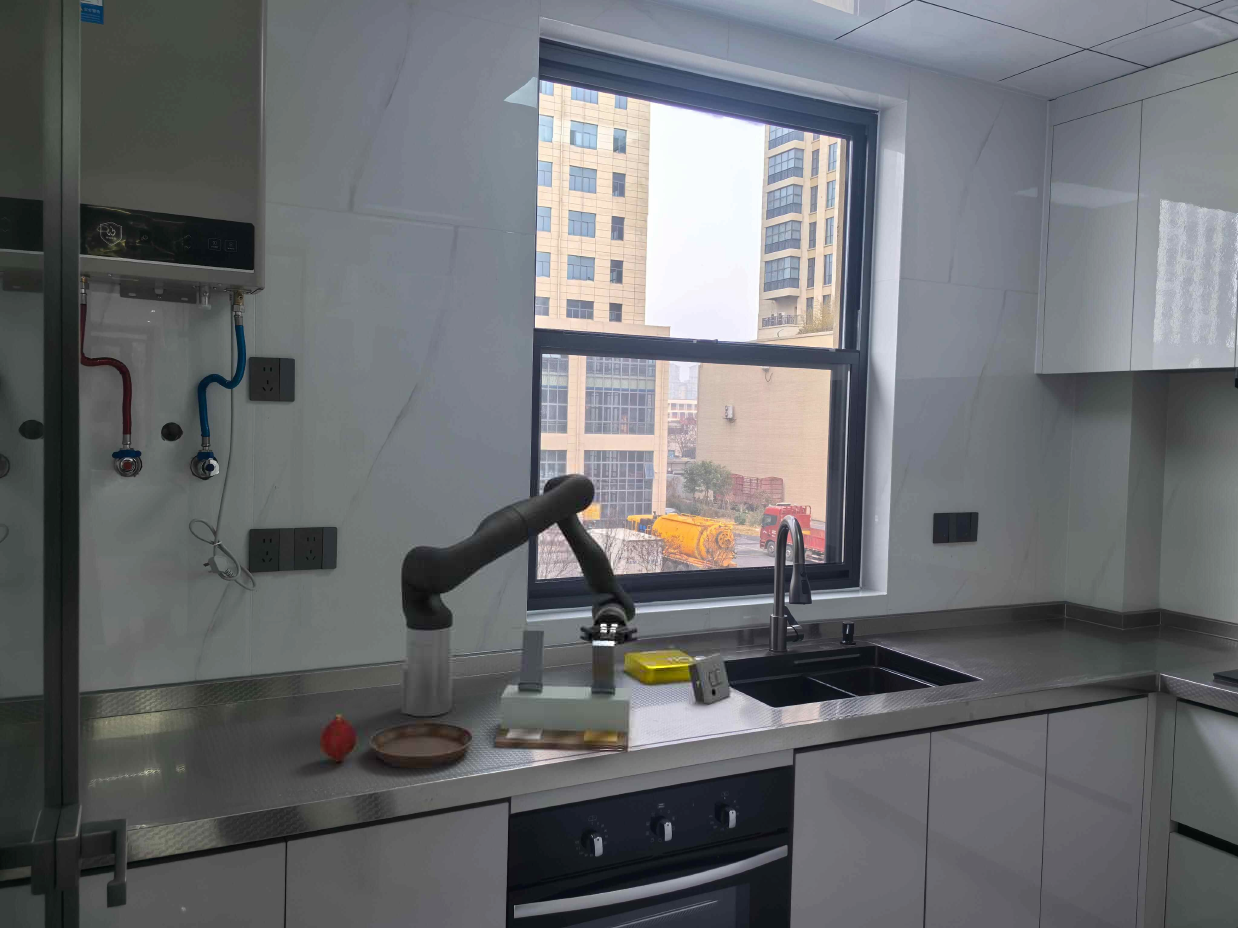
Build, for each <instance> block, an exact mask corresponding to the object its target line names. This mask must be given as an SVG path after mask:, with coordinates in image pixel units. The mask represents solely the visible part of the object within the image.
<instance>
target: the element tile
mask: <svg viewBox="0 0 1238 928" xmlns="http://www.w3.org/2000/svg"><path fill="white" fill-rule="evenodd" d="M697 660H698V659H695V658H694V657H692V656H690V655H688V654H687V653H685V652H682V651H681V650H678V649H671V650H670V649H668V650H667V649H666V650H653V651H651V650H650V651H641V652H628V653H626V654H625V655H624V671H625V670H626V671H627V672H628V673H627V672H626V671H625V672H626V673H627V674H629V673H630V674H631V675H630V674H629V675H630V676H632V675H633V676H634V678H635V679H636V678H637V679H636V680H638V681H639V682H640V681H641V682H640V683H642V684H644V685H662V684H675V683H684V682H685V683H686V682H691V677H690V673H689V668H688V665H690V664H693V663H696V662H697ZM633 676H632V677H633ZM698 676H699V675H698ZM696 679H697V678H696Z"/></svg>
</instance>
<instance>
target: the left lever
mask: <svg viewBox="0 0 1238 928" xmlns="http://www.w3.org/2000/svg"><path fill="white" fill-rule="evenodd" d="M522 631H523V632H522V643H521V644H522V646H521V660H520V661H521V663H520V675H519V676H520V678H519V679H520V680H519V682H518V691H543V686H544V683H543V682H542V681H543V665H544V663H543V662H544V649H545V648H544V647H545V646H544V645H545V630H528V629H527V630H522Z"/></svg>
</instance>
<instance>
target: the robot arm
mask: <svg viewBox="0 0 1238 928" xmlns="http://www.w3.org/2000/svg"><path fill="white" fill-rule="evenodd" d="M595 493H596V491H595V485H594V483H593V481H592V479H590V478H589V477H588V476H585V475H584V474H579V473H570V474H566V475H560V476H559V475H558V476H556V477H555V476H554V477H552V478H550V479H548V480H547V481H546V483H545V484H544V485H543V490H542V494H540V495H539V494H538V495H535V496H532V497H529V498H526V499H525V498H524V499H522V500H519V501H516V502H514V503H511V504H509V505H506V506H504V507H502V508H499V509H498V510H496V511H494V512H492V513H491V514H489V515H487V516H486V517H485V518H484V519H483V520H482V521H481V522H480V523H479V525H477V528H476V529H475V530H474V532H473V534H472V535H471V536H469V537H468V538H465V539H464V540H461V541H460V542H458V543H455V544H453V545H450V546H448V547H435V546H430V545H429V546H428V545H419V546H414V547H413V548H411V549H410V550H409V551H408V552H407V553H406V555H405V557H404V558H403V561H402V565H401V571H400V572H401V573H400V576H401V578H400V579H401V580H400V581H401V582H400V583H401V584H400V585H401V586H400V587H401V606H402V612H403V615H404V617H405V622H406V623H405V626H406V627H405V664H404V665H402V672H401V673H402V680H401V681H402V682H401V684H402V685H401V686H402V687H401V714H405V715H406V714H407V715H409V716H414V717H435V716H441V715H444V714H448V713H449V712H450V711H452V699H453V698H452V689H453V688H452V687H453V683H452V682H453V681H452V680H453V678H452V677H453V676H452V675H453V623H454V621H453V619H454V617H453V616H454V615H453V612H452V610H450V609H449V607H448V606H447V605H446V604H445V603H444V601H443V600H442V597H441V596H442V595H443V594H448V593H449V592H451V591H453V590H454V589H455V588H457V587H459V586H460V585H461V584H463V583H464V582H465V581H467V579H469V578H471V576H473V575H474V574H475V573H477V572H478V571H479V570H481V569H482V568H484V567H486V566H487V565H489V564H491V563H493V562H495V561H496V560H498V559H499V558H502V557H503V556H505V555H507V554H509V553H511V552H513V551H514V550H516V549H518V548H519V547H522V546H523V545H525V544H526V543H527V542H530V540H532V539H535V538H536V537H537V536H539V535H540V534H542V533H543V532H545V531H547V530H548V529H549V528H551V527H552V526H554V525H555V524H556V526H557V527H558V528H559V530H560V532H561V534H562V536H563V537H564V540H566V542H567V544H568V545H569V547H570V549H571V551H572V552H573V555H574V557H575V558H576V560H577V563H578V566H579V568H580V570H581V573H582V575H583V577H584V580H585V582H586V586H587V587H588V589H589V592H590V593H592V594H594V595H598V594H599V595H601V594H610V595H612V596H610V597H608V598H605V599H602V600H599V601H598V602H595V603H594V604H593V605H592V607H591V616H592V620H593V624H592V626H590V627H586V626H581V627H580V629H579V631H580V632H579V634H580V635H579V639H580V640H583V641H585V642H587V643H588V642H589V643H591V644H593V641H614V647H615V646H618V645H620V646H621V645H624V644H628V643H629V644H630V643H632V642H636V641H638V628H636V627H632V628H629V627H628V623H629V622H631V621H632V620H633V619H634V618H635V616H636V605H635V604H634V601H633V600H632V599H631V597H630V596H629V595H628V593H627V592H626V591H625V590H624V588H623V587H622V586H621V584H620V583H619V581H618V579H617V578H616V575H615V573H614V570H613V567H612V565H611V563H610V560H609V557H608V555H607V554H606V552H605V551H604V549H603V547H602V546H601V545H600V544H599V543H598V542H597V540H595V538H594V537H592V535H590V533H589V532H588V530H587V529H586V528H585V527H584V525H583V524H582V522H581V521H580V519H579V516H578V514H579V513H581V512H584V511H585V510H587V509H588V508H590V506H591V505H592V503H593V501H594V499H595Z"/></svg>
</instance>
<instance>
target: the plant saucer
mask: <svg viewBox="0 0 1238 928" xmlns="http://www.w3.org/2000/svg"><path fill="white" fill-rule="evenodd" d="M473 740H474V735H473V733H472V732H471V731H470V730H469V729H466V728H465V727H461V726H459V725H456V724H455V725H454V724H449V723H445V722H444V723H441V722H415V723H414V722H412V723H405V724H399V725H395V726H391V727H387V728H384V729H381V730H378V731H376V732H375V733H374V734H373V735H372V736H371V737H370V739H369V741H368V742H369V745H370V747H371V749H372V751H373V752H374V754H375V755H377V757H378V758H379V759H380V760H381V761H382V762H384V763H386V764H388V765H391V766H394V767H400V768H406V769H407V768H409V769H422V768H423V769H425V768H431V767H437V766H442V765H446V764H449V763H451V762H454V761H456V760H458V759H459V758H460V757H461V756H462V755H463V754H464V753H465V752H466V751H467V749H468V748H469V747H470V745H471V743H472V742H473Z"/></svg>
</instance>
